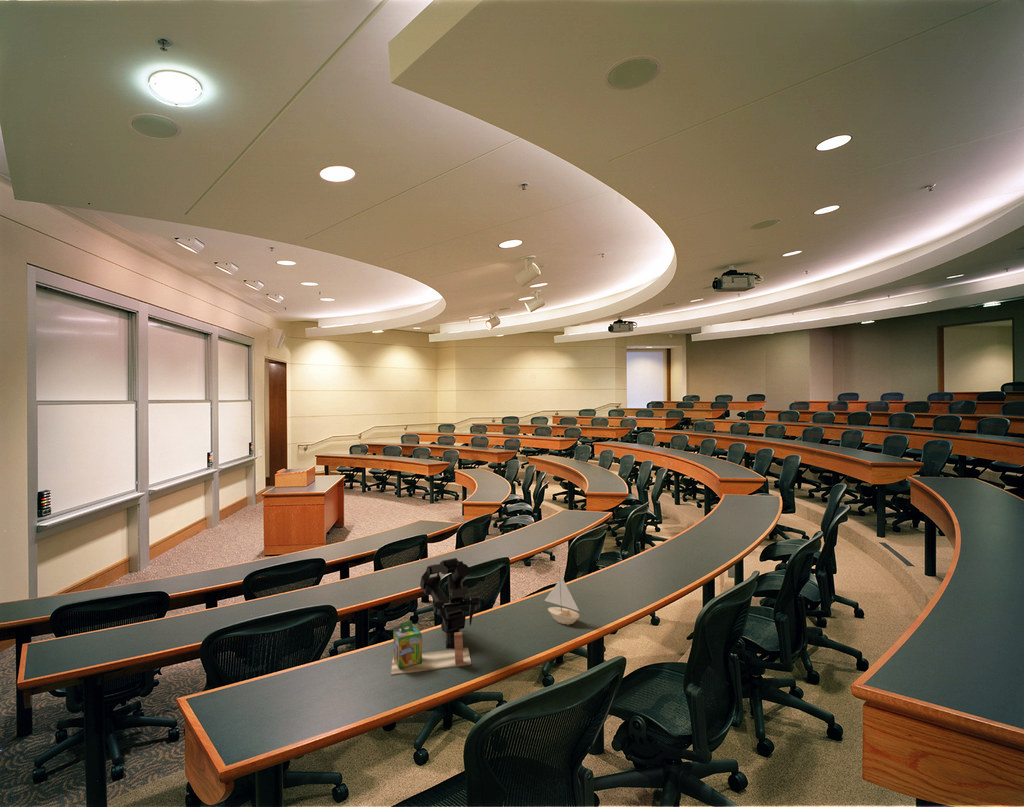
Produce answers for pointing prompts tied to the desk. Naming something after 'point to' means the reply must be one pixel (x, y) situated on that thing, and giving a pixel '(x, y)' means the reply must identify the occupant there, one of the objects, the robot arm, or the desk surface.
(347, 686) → the desk surface
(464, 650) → the birch strip
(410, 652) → the chalk box
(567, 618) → the toy sailboat
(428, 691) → the desk surface
